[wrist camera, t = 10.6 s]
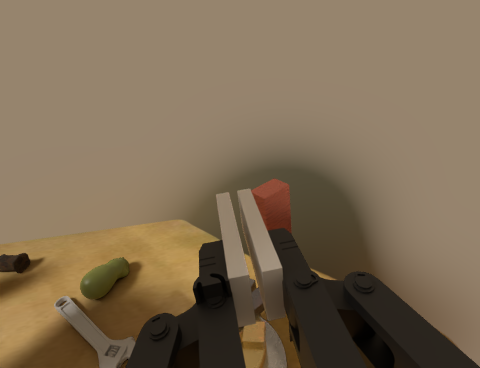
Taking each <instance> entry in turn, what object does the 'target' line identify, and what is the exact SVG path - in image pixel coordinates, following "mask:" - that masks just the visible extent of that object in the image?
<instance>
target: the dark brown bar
mask: <svg viewBox="0 0 480 368" xmlns="http://www.w3.org/2000/svg"><path fill="white" fill-rule="evenodd" d="M29 264H30V259H29V257H28V255H27V254H26V253H22V254H19V255H5V254H3V255H1V256H0V271H14V270H15V271H16V272H17V273H22V272H23V271H24V270H25V269H26V268H27V267H28V266H29Z"/></svg>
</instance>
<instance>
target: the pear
mask: <svg viewBox="0 0 480 368" xmlns="http://www.w3.org/2000/svg"><path fill="white" fill-rule="evenodd" d="M128 273H129V263H128V261H127V260H126V259H124V257H123V258H116V259H113V260H111V261H109V262H108V263H107V264H104V265H101V266H98V267H96V268H94V269H93V270H91V271H90V272H88V273H87V274H86V275H85V276H84V277H83V279H82V281H81V284H80V290H81V292H82V294H83V295H84V296H85V297H86V298H88V299H99V298H101V297H103V296H104V295H106V294H107V293H108V292H109V290H110V289H111V288H112V286H113V285H114V283H115V281H116V280H117V279H118V278H122V277H125V276H126V275H127V274H128Z"/></svg>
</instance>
